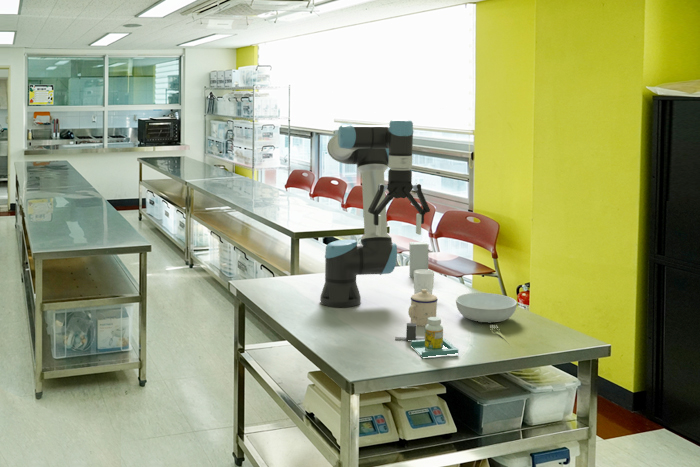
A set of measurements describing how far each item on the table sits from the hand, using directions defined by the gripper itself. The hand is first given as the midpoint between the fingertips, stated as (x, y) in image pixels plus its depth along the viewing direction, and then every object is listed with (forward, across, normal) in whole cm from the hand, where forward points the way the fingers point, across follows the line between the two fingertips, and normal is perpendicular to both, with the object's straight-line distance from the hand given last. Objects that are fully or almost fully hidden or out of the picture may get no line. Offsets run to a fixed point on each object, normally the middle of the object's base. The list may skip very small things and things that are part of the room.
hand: (398, 234), depth 231 cm
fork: (+32, +30, -17) cm, 48 cm away
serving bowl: (+32, +34, +4) cm, 47 cm away
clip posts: (+32, +4, -13) cm, 35 cm away
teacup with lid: (+32, +10, +4) cm, 34 cm away
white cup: (+32, +23, +37) cm, 54 cm away
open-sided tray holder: (+32, +4, -24) cm, 40 cm away
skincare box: (+32, +33, +71) cm, 85 cm away
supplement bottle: (+31, +4, -24) cm, 39 cm away
